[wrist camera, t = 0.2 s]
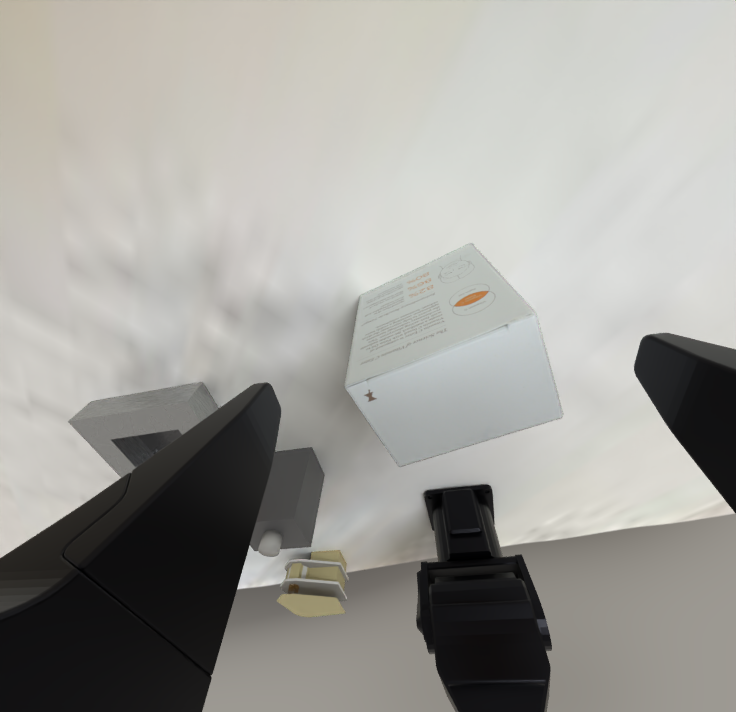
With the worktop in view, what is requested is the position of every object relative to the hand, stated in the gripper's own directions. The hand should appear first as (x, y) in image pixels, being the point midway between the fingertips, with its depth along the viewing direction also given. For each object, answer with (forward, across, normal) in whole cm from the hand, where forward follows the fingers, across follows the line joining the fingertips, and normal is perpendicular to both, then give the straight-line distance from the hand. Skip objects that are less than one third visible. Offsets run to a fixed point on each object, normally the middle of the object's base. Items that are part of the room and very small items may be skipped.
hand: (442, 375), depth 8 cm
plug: (+15, +14, +19) cm, 28 cm away
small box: (+15, -1, +4) cm, 15 cm away
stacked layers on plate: (+15, +16, +36) cm, 42 cm away
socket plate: (+14, +23, +14) cm, 31 cm away
